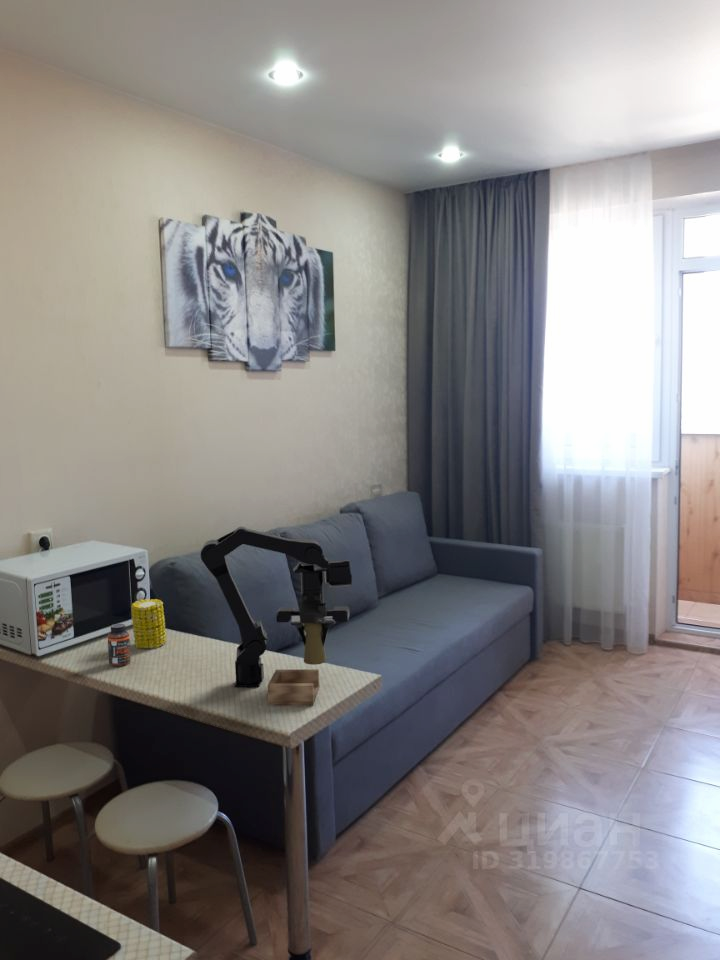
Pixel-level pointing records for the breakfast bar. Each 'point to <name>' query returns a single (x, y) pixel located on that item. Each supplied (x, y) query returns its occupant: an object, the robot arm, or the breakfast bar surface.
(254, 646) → the robot arm
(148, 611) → the food
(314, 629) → the cork
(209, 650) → the breakfast bar surface
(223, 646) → the breakfast bar surface
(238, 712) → the breakfast bar surface
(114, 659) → the supplement bottle
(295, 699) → the wooden box
